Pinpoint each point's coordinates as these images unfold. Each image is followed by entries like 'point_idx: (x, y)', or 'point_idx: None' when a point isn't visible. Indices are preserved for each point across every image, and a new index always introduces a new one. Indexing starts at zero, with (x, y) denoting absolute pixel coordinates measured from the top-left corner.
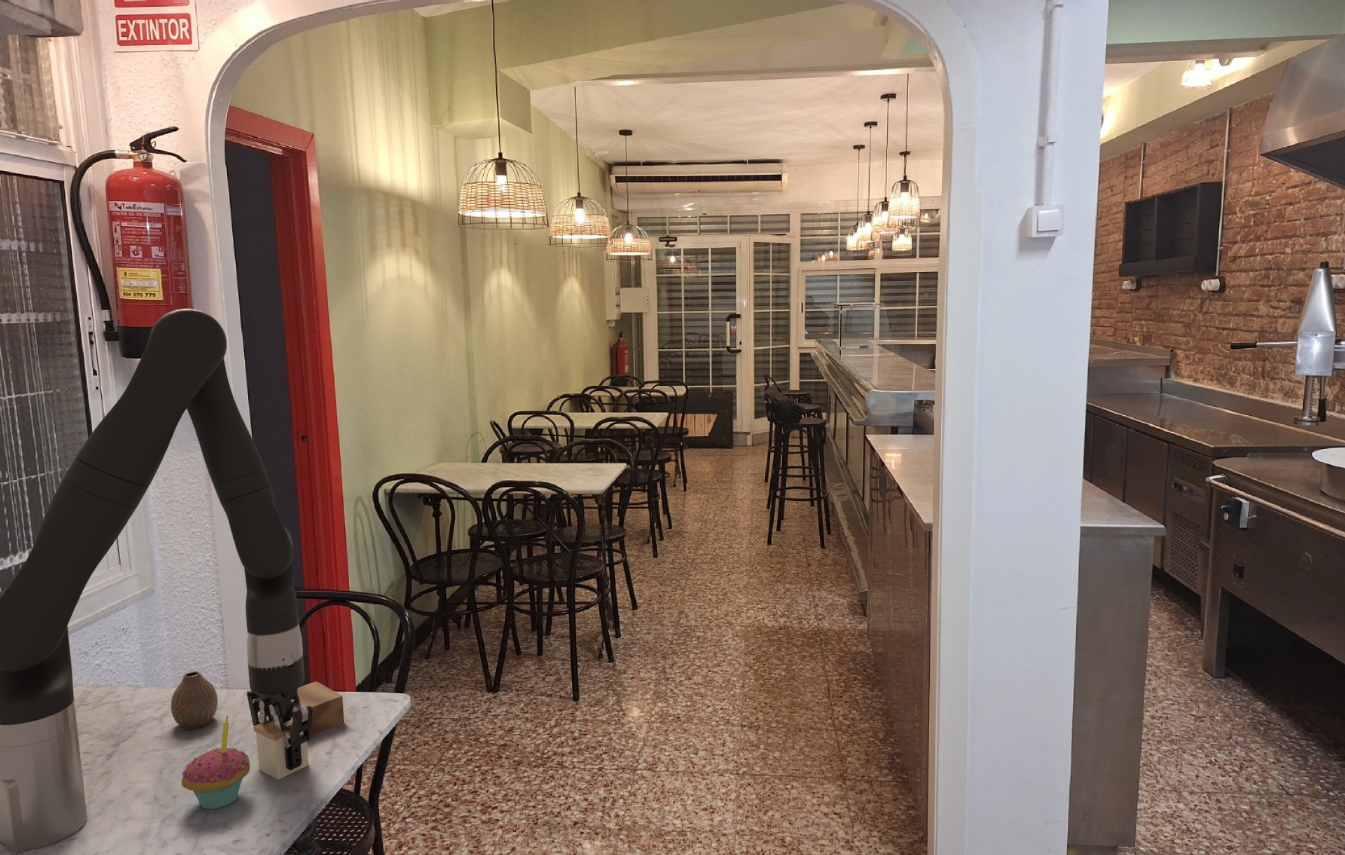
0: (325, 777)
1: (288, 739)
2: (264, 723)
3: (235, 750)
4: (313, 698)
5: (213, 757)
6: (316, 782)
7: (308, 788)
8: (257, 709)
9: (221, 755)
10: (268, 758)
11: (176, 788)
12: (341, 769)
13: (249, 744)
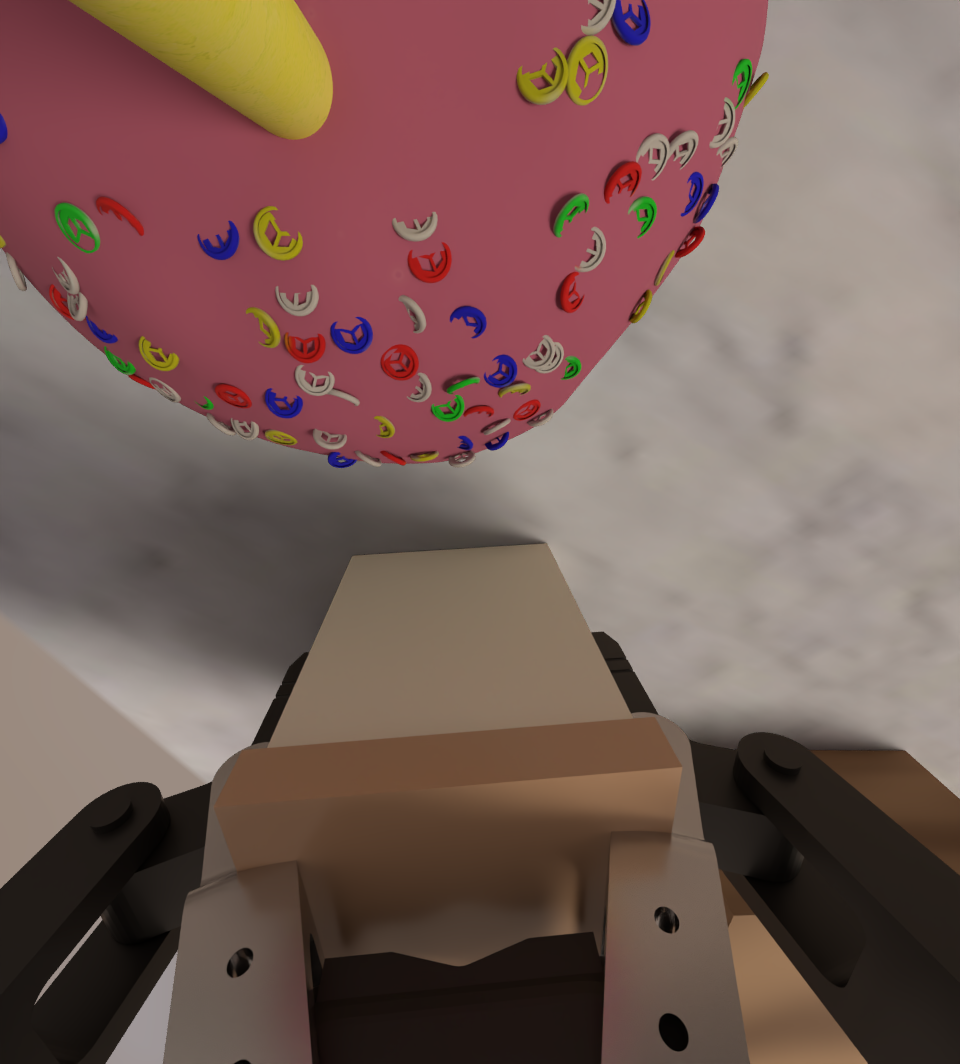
0: (185, 704)
1: (209, 826)
2: (610, 854)
3: (306, 331)
4: (777, 1035)
5: None
6: (164, 659)
7: (127, 610)
8: (908, 975)
9: None
10: (433, 606)
11: (836, 60)
12: (209, 774)
13: (841, 633)
